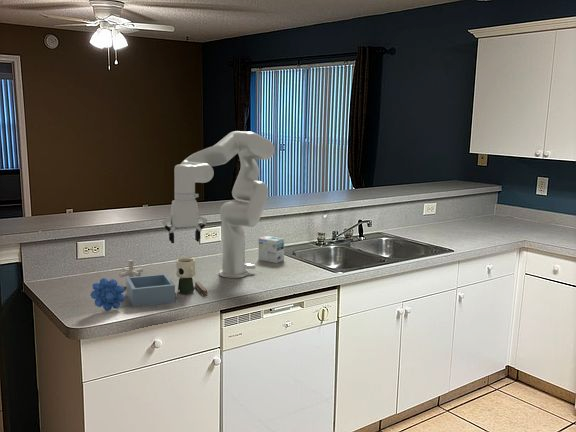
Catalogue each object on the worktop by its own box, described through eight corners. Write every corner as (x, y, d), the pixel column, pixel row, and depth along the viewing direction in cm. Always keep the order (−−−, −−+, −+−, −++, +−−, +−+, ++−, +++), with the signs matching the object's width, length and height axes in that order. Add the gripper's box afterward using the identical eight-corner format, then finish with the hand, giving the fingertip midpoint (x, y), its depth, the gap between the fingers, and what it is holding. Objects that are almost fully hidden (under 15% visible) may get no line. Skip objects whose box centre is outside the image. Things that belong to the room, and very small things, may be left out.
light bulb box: (284, 260, 273) (284, 238, 271) (276, 263, 267) (277, 240, 265) (265, 256, 278) (266, 235, 276) (257, 259, 272) (258, 237, 270)
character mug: (171, 290, 225) (170, 258, 223) (187, 287, 230) (187, 255, 227) (184, 298, 217) (183, 264, 215) (201, 294, 221) (200, 261, 219)
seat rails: (199, 286, 231) (198, 281, 231) (207, 295, 221) (207, 290, 220) (165, 289, 226) (165, 284, 226) (171, 299, 215) (171, 294, 215)
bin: (166, 289, 226) (166, 273, 225) (175, 302, 212) (174, 285, 211) (126, 294, 220) (126, 277, 219) (132, 307, 206) (132, 289, 205)
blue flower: (93, 317, 196) (92, 283, 194) (89, 310, 202) (88, 277, 199) (128, 311, 201) (127, 278, 199) (123, 305, 207) (122, 273, 205)
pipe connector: (134, 279, 238) (133, 255, 236) (149, 284, 232) (148, 260, 230) (113, 284, 231) (112, 260, 229) (128, 290, 225) (127, 265, 223)
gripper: (204, 195, 223) (204, 238, 226) (159, 196, 216) (160, 241, 219) (209, 198, 216) (209, 242, 219) (163, 199, 209) (164, 245, 212)
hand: (184, 241), depth 219 cm, fingers open, 9 cm apart
